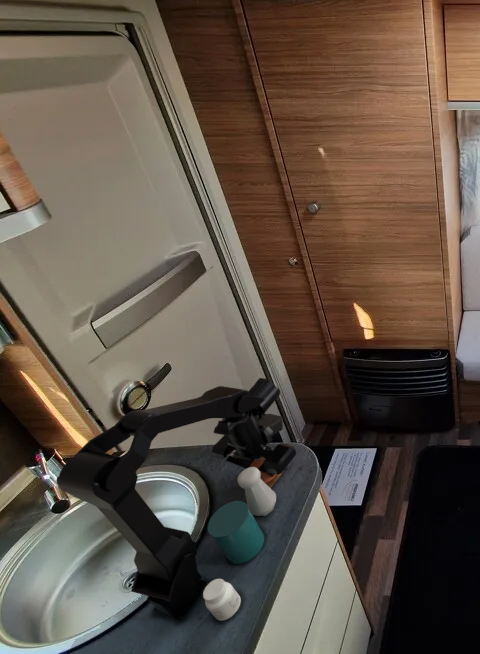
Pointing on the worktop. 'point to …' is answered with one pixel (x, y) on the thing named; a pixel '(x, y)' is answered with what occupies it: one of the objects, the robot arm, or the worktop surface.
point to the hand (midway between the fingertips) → (264, 472)
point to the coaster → (273, 480)
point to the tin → (236, 532)
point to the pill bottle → (221, 599)
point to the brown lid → (264, 477)
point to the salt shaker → (256, 492)
